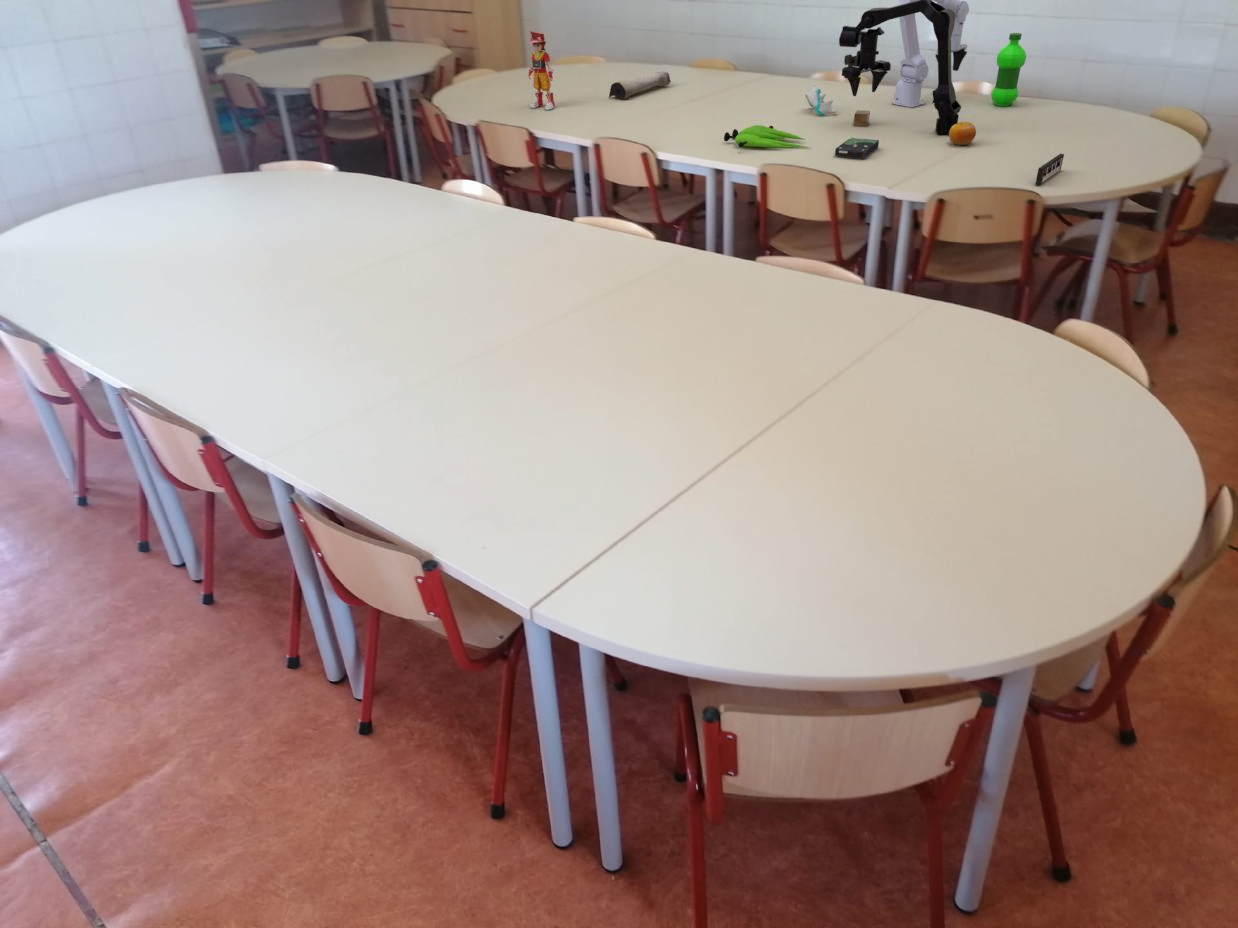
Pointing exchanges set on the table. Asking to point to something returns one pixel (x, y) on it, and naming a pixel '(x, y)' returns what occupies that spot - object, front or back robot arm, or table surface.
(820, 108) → the anatomical model
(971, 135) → the fruit
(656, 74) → the rolled mat
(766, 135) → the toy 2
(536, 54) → the toy
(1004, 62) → the plastic bottle
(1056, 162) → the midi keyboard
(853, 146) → the disk drive
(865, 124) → the block
